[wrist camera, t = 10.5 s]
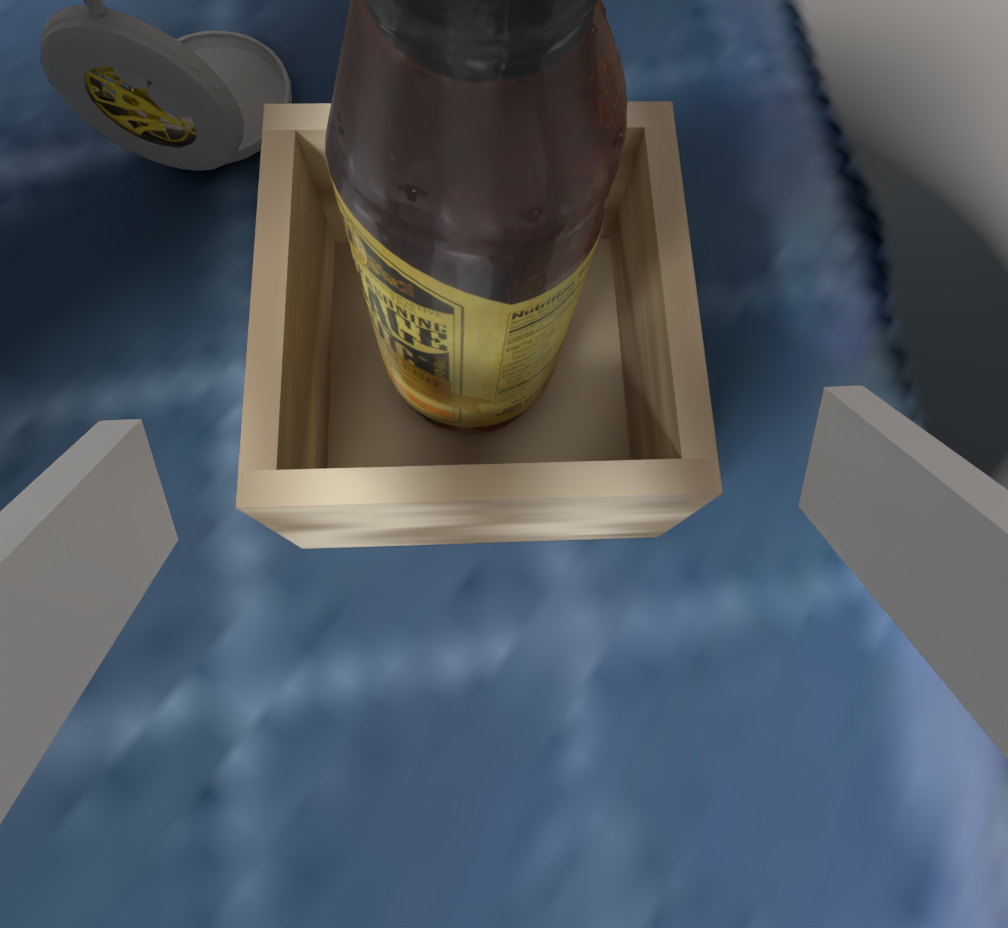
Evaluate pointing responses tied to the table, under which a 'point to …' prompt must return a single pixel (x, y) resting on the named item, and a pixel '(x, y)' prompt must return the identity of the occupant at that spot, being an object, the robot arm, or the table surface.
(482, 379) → the sauce bottle
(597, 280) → the crate
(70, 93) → the pocket watch
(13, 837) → the table surface
